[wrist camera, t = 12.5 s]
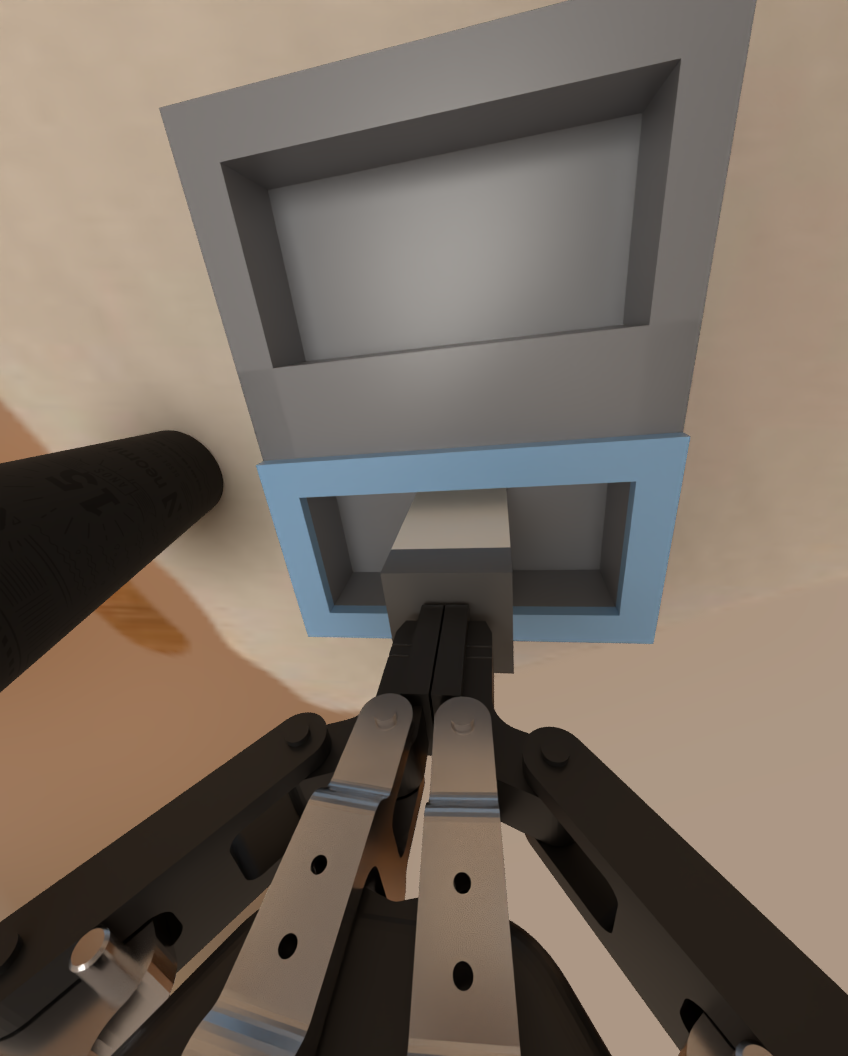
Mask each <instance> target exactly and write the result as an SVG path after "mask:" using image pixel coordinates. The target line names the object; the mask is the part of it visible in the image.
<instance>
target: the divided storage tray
mask: <svg viewBox="0 0 848 1056" xmlns="http://www.w3.org/2000/svg"><path fill="white" fill-rule="evenodd" d="M755 6H756V0H569V1H565V2H561V3H557V4H553V5H550V6H546V7H542V8H538V9H534V10H531V11H527V12H523V13H519V14H515V15H512V16H508V17H504V18H500V19H496V20H492V21H489V22H485V23H481V24H477V25H473V26H470V27H466V28H462V29H458V30H454V31H451V32H447V33H443V34H439V35H435V36H431V37H428V38H424V39H420V40H416V41H412V42H409V43H405V44H401V45H397V46H393V47H390V48H386V49H382V50H378V51H374V52H370V53H367V54H363V55H359V56H355V57H351V58H348V59H344V60H340V61H336V62H332V63H328V64H325V65H321V66H317V67H313V68H309V69H306V70H302V71H298V72H294V73H290V74H287V75H283V76H279V77H275V78H271V79H267V80H264V81H260V82H256V83H252V84H248V85H245V86H241V87H237V88H233V89H229V90H226V91H222V92H218V93H214V94H210V95H206V96H203V97H199V98H195V99H191V100H187V101H184V102H180V103H176V104H172V105H168V106H165V107H161V108H159V109H160V113H161V116H162V120H163V123H164V126H165V130H166V133H167V137H168V140H169V143H170V147H171V150H172V153H173V157H174V160H175V164H176V167H177V170H178V174H179V177H180V180H181V184H182V187H183V191H184V194H185V197H186V201H187V204H188V208H189V211H190V214H191V218H192V221H193V224H194V228H195V231H196V235H197V238H198V241H199V245H200V248H201V252H202V255H203V258H204V262H205V265H206V268H207V272H208V275H209V279H210V282H211V285H212V289H213V292H214V296H215V299H216V302H217V306H218V309H219V312H220V316H221V319H222V323H223V326H224V329H225V333H226V336H227V339H228V343H229V346H230V350H231V353H232V356H233V360H234V363H235V367H236V370H237V373H238V377H239V380H240V383H241V387H242V390H243V394H244V397H245V400H246V404H247V407H248V411H249V414H250V417H251V421H252V424H253V427H254V431H255V434H256V438H257V441H258V444H259V448H260V451H261V455H262V458H263V461H262V462H261V463H259V464H257V465H256V467H257V470H258V474H259V477H260V480H261V484H262V487H263V490H264V493H265V497H266V500H267V503H268V506H269V510H270V513H271V516H272V520H273V523H274V526H275V529H276V533H277V536H278V539H279V542H280V546H281V549H282V552H283V556H284V559H285V562H286V565H287V569H288V572H289V575H290V578H291V582H292V585H293V588H294V592H295V595H296V598H297V601H298V605H299V608H300V611H301V614H302V618H303V621H304V624H305V628H306V631H307V634H308V637H350V638H392V635H391V630H390V624H389V619H388V613H387V608H386V603H385V597H384V592H383V586H382V581H381V575H380V573H381V571H382V568H383V566H384V564H385V562H386V560H387V557H388V555H389V553H390V551H391V549H392V546H393V544H394V542H395V540H396V538H397V535H398V533H399V531H400V529H401V526H402V524H403V522H404V520H405V518H406V515H407V513H408V511H409V509H410V507H411V504H412V502H413V500H414V498H415V496H416V493H417V492H428V491H449V490H470V489H490V488H506V492H507V506H508V520H509V533H510V547H511V561H512V586H513V641H541V642H589V643H637V644H653V642H654V637H655V631H656V626H657V620H658V615H659V609H660V603H661V598H662V592H663V587H664V581H665V576H666V570H667V564H668V559H669V553H670V548H671V542H672V536H673V531H674V525H675V520H676V514H677V509H678V503H679V497H680V492H681V486H682V481H683V475H684V470H685V464H686V458H687V453H688V447H689V442H690V436H689V435H687V434H685V433H683V429H684V423H685V417H686V412H687V406H688V400H689V394H690V388H691V382H692V376H693V370H694V365H695V359H696V353H697V347H698V341H699V335H700V329H701V323H702V318H703V312H704V306H705V300H706V294H707V288H708V282H709V276H710V271H711V265H712V259H713V253H714V247H715V241H716V235H717V229H718V224H719V218H720V212H721V206H722V200H723V194H724V188H725V183H726V177H727V171H728V165H729V159H730V153H731V147H732V141H733V136H734V130H735V124H736V118H737V112H738V106H739V100H740V94H741V89H742V83H743V77H744V71H745V65H746V59H747V53H748V47H749V42H750V36H751V30H752V24H753V18H754V12H755Z"/></svg>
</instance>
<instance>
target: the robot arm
mask: <svg viewBox="0 0 848 1056" xmlns="http://www.w3.org/2000/svg"><path fill="white" fill-rule="evenodd" d="M427 755H430V756H432V765H431V783H430V797H429V802H427V803H426V806H425V813H424V824H423V839H422V853H421V868H420V882H419V897H418V898H414V899H409V900H405V893H406V871H407V864H408V859H409V854H410V849H411V845H412V840H413V836H414V831H415V827H416V822H417V818H418V813H419V809H420V804H421V800H422V795H423V790H424V785H425V778H424V773H425V767H426V760H427ZM501 822H503V823H505V824H507V825H509V826H511V827H513V828H515V829H517V830H519V831H521V832H523V833H525V835H526V837H527V839H528V841H529V843H530V845H531V846H532V847H533V849H534V850H535V851H536V853H537V854H538V855H539V857H540V858H541V860H542V861H543V862H544V864H545V865H546V867H547V868H548V869H549V871H550V872H551V874H552V875H553V876H554V878H555V879H556V880H557V882H558V883H559V885H560V886H561V887H562V889H563V890H564V891H565V893H566V894H567V896H568V897H569V898H570V900H571V901H572V902H573V904H574V905H575V907H576V908H577V909H578V911H579V912H580V914H581V915H582V916H583V917H584V919H585V920H586V922H587V923H588V925H589V926H590V927H591V929H592V930H593V931H594V933H595V934H596V936H597V937H598V938H599V940H600V941H601V942H602V944H603V945H604V946H605V948H606V949H607V951H608V952H609V953H610V955H611V956H612V958H613V959H614V960H615V962H616V963H617V965H618V966H619V967H620V969H621V970H622V971H623V973H624V974H625V976H626V977H627V978H628V980H629V981H630V982H631V984H632V985H633V986H634V988H635V989H636V991H637V992H638V993H639V995H640V996H641V997H642V999H643V1000H644V1002H645V1003H646V1005H647V1006H648V1007H649V1009H650V1010H651V1011H652V1013H653V1014H654V1015H655V1017H656V1018H657V1019H658V1021H659V1022H660V1024H661V1025H662V1027H663V1028H664V1029H665V1031H666V1032H667V1033H668V1035H669V1036H670V1037H671V1039H672V1040H673V1042H674V1043H675V1044H676V1046H677V1047H678V1048H679V1050H680V1053H679V1055H678V1056H848V995H847V994H846V993H845V992H844V991H843V990H842V989H841V988H840V987H839V986H838V985H837V984H836V983H835V982H834V981H833V980H832V979H831V978H830V977H828V976H827V975H826V974H825V973H824V972H823V971H822V970H821V969H820V968H819V967H818V966H817V965H816V964H815V963H814V962H813V961H812V960H811V959H809V958H808V957H807V956H806V955H805V954H804V953H803V952H802V951H801V950H800V949H799V948H798V947H797V946H796V945H795V944H794V943H793V942H792V941H791V940H789V939H788V938H787V937H786V936H785V935H784V934H783V933H782V932H781V931H780V930H779V929H778V928H777V927H776V926H775V925H774V924H773V923H772V922H771V921H769V920H768V919H767V918H766V917H765V916H764V915H763V914H762V913H761V912H760V911H759V910H758V909H757V908H756V907H755V906H754V905H752V904H751V903H750V902H749V901H748V900H747V899H746V898H745V897H744V896H743V895H742V894H741V893H740V892H739V891H738V890H737V889H736V888H735V887H733V886H732V884H730V883H729V882H728V881H727V880H726V879H725V878H724V877H723V876H722V875H721V874H720V873H719V872H718V871H717V870H716V869H715V868H714V867H713V866H711V865H710V864H709V863H708V862H707V861H706V860H705V859H704V858H703V857H702V856H701V855H700V854H699V853H698V852H697V851H696V850H694V848H693V847H691V846H690V845H689V844H688V843H687V842H686V841H685V840H684V839H683V838H682V837H681V836H680V835H679V834H678V833H677V832H676V831H674V829H672V828H671V827H670V826H669V825H668V824H667V823H666V822H665V821H664V820H663V819H662V818H661V817H660V816H659V815H658V814H657V813H655V812H654V810H652V809H651V808H650V807H649V806H648V805H647V804H646V803H645V802H644V801H643V800H642V799H641V798H640V797H639V796H638V795H637V794H636V793H635V792H633V791H632V790H631V789H630V788H629V787H628V786H627V785H626V784H625V783H624V782H623V781H622V780H621V779H620V778H619V777H617V775H616V774H615V773H613V772H612V771H611V770H610V769H609V768H608V767H607V766H606V765H605V764H604V763H603V762H602V761H601V760H600V759H599V758H598V757H597V756H596V755H594V754H593V753H592V752H591V751H590V750H589V749H588V748H587V747H586V746H585V745H584V744H583V743H582V742H581V741H580V740H579V739H578V738H576V737H575V736H574V735H573V734H571V733H569V732H568V731H565V730H563V729H560V728H556V727H543V728H539V729H536V730H534V731H532V732H531V733H530V734H528V733H526V732H523V731H520V730H518V729H515V728H513V727H510V726H509V725H507V724H506V723H505V722H503V721H502V720H501V719H500V718H499V716H498V715H497V714H496V712H495V710H494V662H493V641H492V632H491V630H490V628H489V626H488V625H487V623H486V621H470V611H469V605H446V606H445V605H422V606H421V610H420V614H419V618H418V621H414V620H406V621H405V622H404V623H403V624H402V625H401V627H400V628H399V629H398V630H397V631H396V634H395V637H394V640H393V644H392V647H391V650H390V653H389V657H388V660H387V663H386V666H385V669H384V673H383V676H382V679H381V682H380V685H379V689H378V692H377V695H376V697H374V698H373V699H371V700H370V701H368V702H367V703H366V704H365V705H364V707H363V708H362V710H361V711H360V714H359V715H358V716H356V717H354V718H351V719H348V720H344V721H340V722H336V723H332V724H328V725H326V723H325V721H324V719H323V718H322V717H321V716H320V715H317V714H315V713H300V714H297V715H294V716H292V717H290V718H289V719H287V720H286V721H284V722H283V723H281V724H280V725H278V726H277V727H276V728H274V729H273V730H271V731H270V732H269V733H267V734H266V735H264V736H263V737H261V738H260V739H259V740H257V741H256V742H254V743H253V744H252V745H250V746H249V747H247V748H246V749H244V750H243V751H242V752H240V753H239V754H237V755H236V756H235V757H233V758H232V759H230V760H229V761H227V762H226V763H225V764H223V765H222V766H220V767H219V768H218V769H216V770H215V771H213V772H212V773H210V774H209V775H208V776H206V777H205V778H203V779H202V780H201V781H199V782H198V783H196V784H195V785H193V786H192V787H191V788H189V789H188V790H186V791H185V792H184V793H182V794H181V795H179V796H178V797H176V798H175V799H174V800H172V801H171V802H169V803H168V804H167V805H165V806H164V807H162V808H161V809H160V810H158V811H157V812H155V813H154V814H153V815H151V816H150V817H148V818H147V819H146V820H144V821H143V822H141V823H140V824H138V825H137V826H135V827H134V828H133V829H131V830H130V831H128V832H127V833H126V834H124V835H123V836H121V837H120V838H119V839H117V840H116V841H114V842H113V843H111V844H110V845H109V846H107V847H106V848H104V849H103V850H102V851H100V852H99V853H97V854H96V855H94V856H93V857H92V858H90V859H89V860H87V861H86V862H85V863H83V864H82V865H80V866H79V867H77V868H76V869H75V870H74V871H72V872H71V873H69V874H68V875H66V876H65V877H64V878H62V879H60V880H59V881H58V882H56V883H55V884H53V885H52V886H51V887H49V888H48V889H46V890H45V891H43V892H42V893H41V894H39V895H38V896H36V897H35V898H34V899H32V900H31V901H29V902H28V903H27V904H25V905H24V906H22V907H21V908H19V909H18V910H17V911H15V912H14V913H12V914H11V915H10V916H8V917H7V918H6V919H4V920H2V921H1V922H0V1056H611V1054H610V1052H609V1051H608V1049H607V1047H606V1045H605V1044H604V1042H603V1040H602V1039H601V1037H600V1035H599V1033H598V1032H597V1030H596V1029H595V1027H594V1025H593V1023H592V1022H591V1020H590V1018H589V1016H588V1015H587V1013H586V1012H585V1010H584V1008H583V1006H582V1005H581V1003H580V1001H579V1000H578V998H577V996H576V994H575V993H574V991H573V989H572V988H571V986H570V984H569V983H568V981H567V979H566V978H565V976H564V975H563V973H562V971H561V970H560V968H559V967H558V966H557V964H556V963H555V962H554V960H553V959H552V958H551V956H550V955H549V954H548V953H547V951H546V950H545V949H544V948H543V947H542V946H541V945H540V944H539V943H538V942H537V940H535V939H534V938H533V937H532V936H531V935H529V933H527V932H526V931H525V930H524V929H522V928H521V927H519V926H518V925H516V924H515V923H513V922H512V921H510V920H509V914H508V902H507V891H506V879H505V868H504V856H503V844H502V833H501ZM269 885H270V887H269V889H268V891H267V894H266V896H265V898H264V900H263V903H262V905H261V907H260V909H259V910H257V911H256V912H255V913H254V914H252V915H251V916H250V917H249V918H248V919H246V920H245V921H244V922H243V923H242V924H241V925H240V926H239V927H238V928H237V929H236V930H235V931H234V932H233V933H232V934H231V935H230V936H229V937H228V938H227V939H226V940H225V941H224V942H223V943H222V944H221V945H220V946H219V947H218V948H217V949H216V950H215V951H214V952H213V953H212V954H211V955H210V956H209V957H208V958H207V959H206V960H205V961H204V962H203V963H202V964H201V965H200V966H199V967H198V968H197V969H196V970H195V972H194V973H192V974H191V975H190V976H189V978H188V979H187V980H185V981H184V983H182V985H181V986H180V987H179V988H178V989H177V990H176V991H175V992H174V993H173V994H172V995H171V996H170V992H171V990H172V987H173V984H174V981H175V977H176V973H177V972H178V971H179V970H180V969H181V968H182V967H183V966H185V964H187V963H188V962H189V961H190V960H191V959H192V958H193V957H194V956H195V955H196V954H197V953H198V952H199V951H200V950H201V949H203V948H204V947H205V946H206V945H207V944H208V943H209V942H210V941H211V940H212V939H213V938H214V937H215V936H216V935H217V934H219V933H220V932H221V931H222V930H223V929H224V928H225V927H226V926H227V925H228V924H229V923H230V922H231V921H232V920H233V919H234V918H236V917H237V916H238V915H239V914H240V913H241V912H242V911H243V910H244V909H245V908H246V907H247V906H248V905H249V904H250V903H251V902H253V901H254V900H255V899H256V898H257V897H258V896H259V895H260V894H261V893H262V892H263V891H264V890H265V889H266V888H267V887H268V886H269Z"/></svg>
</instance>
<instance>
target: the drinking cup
mask: <svg viewBox="0 0 848 1056" xmlns="http://www.w3.org/2000/svg"><path fill="white" fill-rule="evenodd" d="M222 489H223V482H222V476H221V472H220V469H219V467H218V465H217V463H216V461H215V459H214V458H213V456H212V455H211V454H210V452H209V451H208V450H207V449H206V448H205V447H204V446H203V445H202V444H200V443H199V442H198V441H196V440H195V439H193V438H192V437H190V436H188V435H186V434H183V433H180V432H176V431H160V432H155V433H150V434H145V435H140V436H135V437H130V438H125V439H120V440H115V441H110V442H105V443H100V444H95V445H90V446H85V447H80V448H75V449H70V450H65V451H60V452H55V453H50V454H45V455H40V456H36V457H30V458H26V459H21V460H15V461H11V462H6V463H0V692H1V691H3V690H4V689H5V688H6V687H7V686H8V685H9V684H11V683H12V682H13V681H14V680H15V679H16V678H17V677H19V676H20V675H21V674H22V673H23V672H24V671H25V670H26V669H28V668H29V667H30V666H31V665H32V664H34V663H35V662H36V661H37V660H38V659H39V658H40V657H42V656H43V655H44V654H45V653H46V652H47V651H48V650H50V649H51V648H52V647H53V646H54V645H55V644H57V643H58V642H59V641H60V640H61V639H62V638H63V637H65V636H66V635H67V634H68V633H69V632H70V631H71V630H73V629H74V628H75V627H76V626H77V625H78V624H79V623H81V621H83V620H84V619H85V618H86V617H87V616H89V615H90V614H91V613H92V612H93V611H95V610H96V609H97V608H98V607H99V606H100V605H101V604H103V603H104V602H105V601H106V600H107V599H108V598H109V597H111V596H112V595H113V594H114V593H115V592H116V591H118V590H119V589H120V588H121V587H122V586H123V585H124V584H126V583H127V582H128V581H129V580H130V579H131V578H132V577H134V576H135V575H136V574H137V573H138V572H139V571H141V570H142V569H143V568H144V567H145V566H146V565H147V564H149V563H150V562H151V561H152V560H153V559H154V558H155V557H157V556H158V555H159V554H160V553H161V552H162V551H163V550H165V549H166V548H167V547H168V546H169V545H170V544H172V543H173V542H174V541H175V540H176V539H177V538H178V537H180V536H181V535H182V534H183V533H184V532H185V531H186V530H188V529H189V528H190V527H191V526H192V525H193V524H195V523H196V522H197V521H198V520H199V519H200V518H201V517H203V516H204V515H205V514H206V513H207V512H208V511H209V510H211V509H212V508H213V507H214V506H215V505H216V504H217V503H218V501H219V499H220V497H221V494H222Z"/></svg>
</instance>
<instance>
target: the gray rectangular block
mask: <svg viewBox="0 0 848 1056" xmlns="http://www.w3.org/2000/svg"><path fill="white" fill-rule="evenodd" d="M380 575H381V581H382V586H383V592H384V597H385V603H386V608H387V613H388V619H389V624H390V630H391V635H392V641H393V640H394V637H395V634H396V631H397V630H398V629H399V628H400V627H401V625H402V624H403V623H404V622H405V621H406V620H414V621H418V618H419V614H420V610H421V606H422V605H445V606H446V605H469V611H470V621H486V623H487V625H488V626H489V628H490V630H491V632H492V641H493V662H494V673H513V674H514V662H513V586H512V561H511V547H510V533H509V520H508V506H507V492H506V488H490V489H470V490H449V491H428V492H417V493H416V496H415V498H414V500H413V502H412V504H411V507H410V509H409V511H408V513H407V515H406V518H405V520H404V522H403V524H402V526H401V529H400V531H399V533H398V535H397V538H396V540H395V542H394V544H393V546H392V549H391V551H390V553H389V555H388V557H387V560H386V562H385V564H384V566H383V568H382V571H381V573H380Z"/></svg>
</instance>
